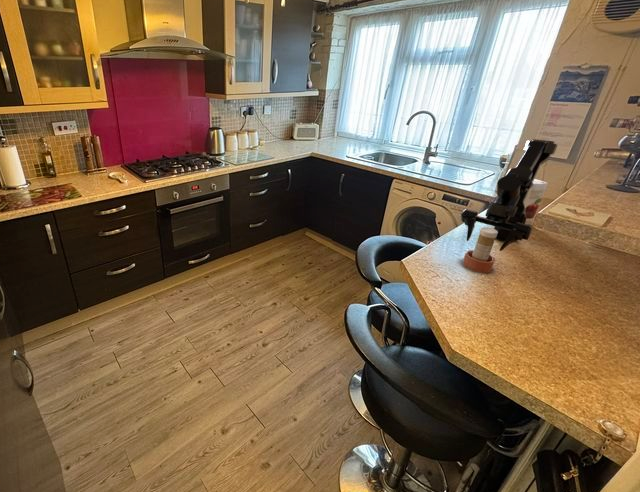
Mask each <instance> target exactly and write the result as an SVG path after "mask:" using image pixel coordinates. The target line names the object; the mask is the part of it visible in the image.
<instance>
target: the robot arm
mask: <svg viewBox="0 0 640 492" xmlns="http://www.w3.org/2000/svg"><path fill="white" fill-rule="evenodd" d="M557 148H558V144H557V143H555V141H553V140H545V139H536V138H533V139H531V140H526V141H525V144H524V147H523V149H522V150H523V152H524V153H523V155H522V157H521V158H520V160H519V162H518V163H517V165H516V166H515V167H511V168H510V169H509V170H508V171H507V173H506V174H503V176H501V177H500V178H499V179H498V180H497V182H496V184H497V185H496V195H497V196H496V198H495V199H494V202H489V204H488V206H487V209H486V212H485V217H484V216H480V215H478V211H475V210H471V209H467V208H465V209H464V210H462V212H461V213H460V218H461V222H462V223H464V225H465V226H467V230H466V231H467V232H466V242H469V241H470V239H471V237H472V234H473V232H474V229H475V227H476V226H475V224H476V223H481V224H483V225H487V226H492V227H494V228H493V229H495V230H497V231H498V234H497V237H496V238H495V239H497V240H498V241H499V242H502V244H501V246H500V248H499V252H502V251H503V250H504V249H506V248H508V246H510V245H511V244H513V243H515V242H517V241H520V242H521V241H523V240H525V241H527V240H529V239H530V237H531V234H532V231H533V226H532V224H525V222H526V214H524V213H525V211H526V209H525V206H524V200H525V198H526V196H527V194H528V192H529V189H530V188H531V187H532V186H533V181H534V179H536V176H537V174H538V172H539V170H540V167H541V166H542V165H543V164H545V163H546V162H548V161H549V160H550V158H551V156H552V155H554V154H555V153H556V150H557ZM519 222H520V223H519Z"/></svg>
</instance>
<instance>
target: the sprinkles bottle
mask: <svg viewBox="0 0 640 492" xmlns="http://www.w3.org/2000/svg"><path fill="white" fill-rule="evenodd" d="M497 234H498V231H497V230H495V229H494V228H493V227H486V226H484V227H481V228H480V229H479V235H478V237H477V241H476V243H475V246H474V248H473V250H474V251H473V255H472V258H473V259H476V260H479V261H483V262H487V259H488V257H489V255H491V252H492V249H493V246H494V243H495V241H496V239H497V238H496V237H497Z"/></svg>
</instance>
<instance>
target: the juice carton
mask: <svg viewBox="0 0 640 492" xmlns="http://www.w3.org/2000/svg"><path fill="white" fill-rule="evenodd" d="M548 184H549V182H546V181H544V180H540V179H537V178H534V181H533V186H532V187H531V188H530V189H529V192H528V194H527V196H526V198H525V200H524V206H525V209H526V211H525V213H524V214H526V222H525V224H527V225H532V223H533V221H534V219H535V216H536V214H537V211H538V210H539V206H540V204H541V202H542V200H543V197H544V194H545V192H546V191H547V190H546V189H547V187H548ZM533 218H534V219H533ZM519 223H520V222H519Z"/></svg>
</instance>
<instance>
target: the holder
mask: <svg viewBox="0 0 640 492" xmlns="http://www.w3.org/2000/svg"><path fill="white" fill-rule="evenodd" d="M473 251H474V249H470V250H466V251H465V254H464V256H463V260H462V265H463V267H465V268H466V269H468V270H470V271H473V272H476V273H480V274H481V273H482V274H487V273H490V272H491V271H492V269H493V266H494V264H495V261H496V260H495V257H493V255H491V254H489V257H488V259H487V262H483V261H479V260H476V259H473V258H472V255H473Z"/></svg>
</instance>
